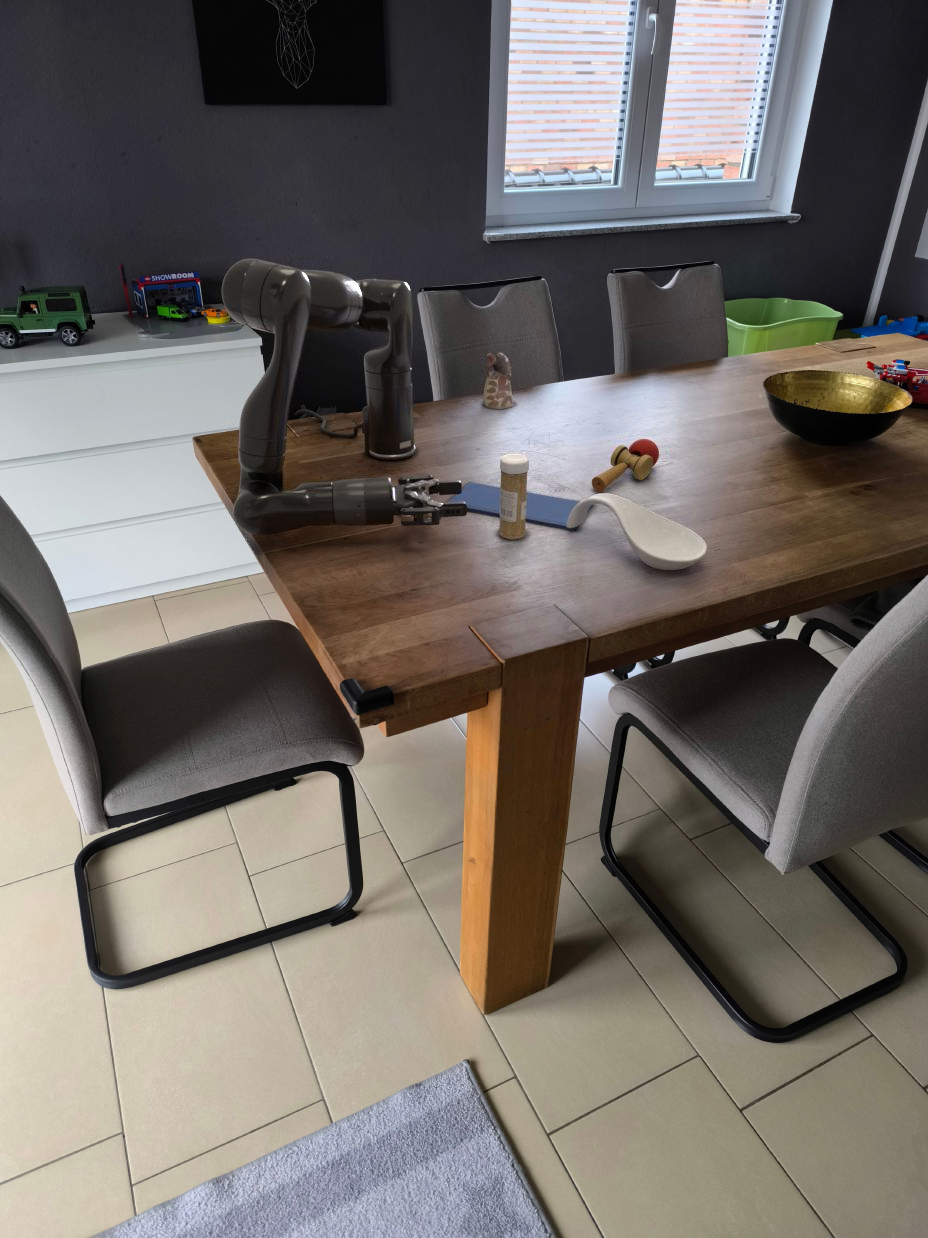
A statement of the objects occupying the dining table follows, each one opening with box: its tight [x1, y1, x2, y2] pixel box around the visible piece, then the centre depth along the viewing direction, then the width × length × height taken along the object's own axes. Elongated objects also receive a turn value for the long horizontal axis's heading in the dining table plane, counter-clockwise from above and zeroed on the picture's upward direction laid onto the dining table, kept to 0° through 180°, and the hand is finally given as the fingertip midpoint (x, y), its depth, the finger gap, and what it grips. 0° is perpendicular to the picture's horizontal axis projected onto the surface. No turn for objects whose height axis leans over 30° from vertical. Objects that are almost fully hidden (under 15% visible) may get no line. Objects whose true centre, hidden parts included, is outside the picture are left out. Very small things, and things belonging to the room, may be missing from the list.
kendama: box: [591, 438, 660, 493], centre depth 158 cm, size 8×6×18 cm
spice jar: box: [498, 453, 530, 541], centre depth 135 cm, size 5×5×13 cm
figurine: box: [482, 352, 514, 410], centre depth 194 cm, size 7×7×12 cm
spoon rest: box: [566, 492, 708, 571], centre depth 132 cm, size 24×12×7 cm, turn 48°
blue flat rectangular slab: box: [446, 481, 594, 531], centre depth 148 cm, size 24×11×1 cm, turn 66°
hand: (463, 497), depth 134 cm, fingers open, 8 cm apart
